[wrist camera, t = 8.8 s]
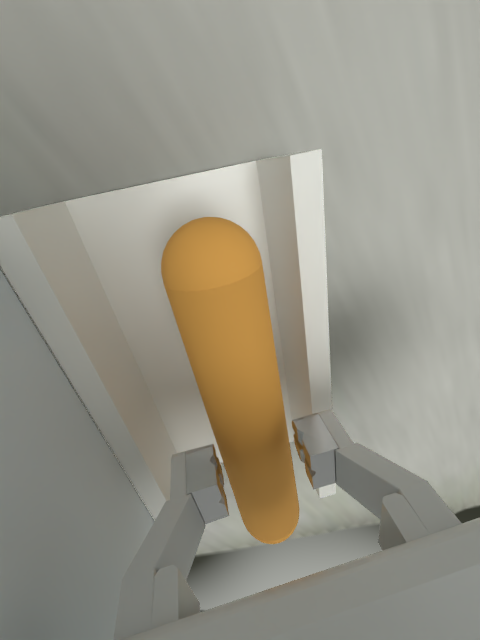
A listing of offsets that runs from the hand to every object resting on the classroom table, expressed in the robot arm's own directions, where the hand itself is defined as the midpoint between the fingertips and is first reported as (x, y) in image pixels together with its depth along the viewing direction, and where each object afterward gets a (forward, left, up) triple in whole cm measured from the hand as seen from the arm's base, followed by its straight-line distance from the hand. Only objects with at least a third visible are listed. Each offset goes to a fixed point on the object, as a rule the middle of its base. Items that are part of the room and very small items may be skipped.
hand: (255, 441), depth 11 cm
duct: (-1, 0, -7) cm, 7 cm away
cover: (-6, 0, +3) cm, 7 cm away
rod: (0, 0, -3) cm, 3 cm away
